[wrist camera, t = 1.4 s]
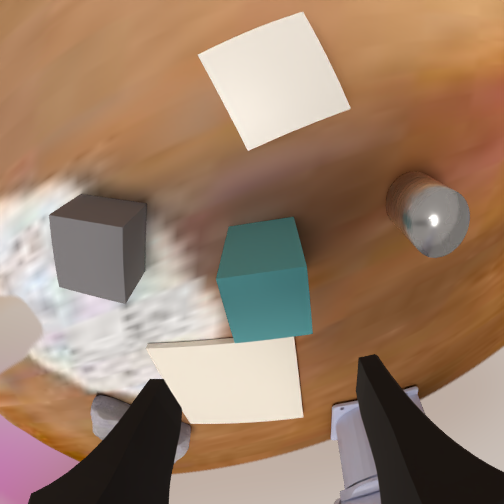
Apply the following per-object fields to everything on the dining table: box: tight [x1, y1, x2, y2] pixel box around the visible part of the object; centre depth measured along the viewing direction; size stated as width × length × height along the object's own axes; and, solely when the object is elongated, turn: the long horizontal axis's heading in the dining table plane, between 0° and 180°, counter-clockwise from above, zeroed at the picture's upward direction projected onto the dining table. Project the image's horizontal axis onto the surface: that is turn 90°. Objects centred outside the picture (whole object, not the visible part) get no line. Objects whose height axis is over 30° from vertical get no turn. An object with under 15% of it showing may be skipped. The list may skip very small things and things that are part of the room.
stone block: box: [91, 395, 191, 463], centre depth 30 cm, size 12×5×10 cm
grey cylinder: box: [386, 171, 470, 258], centre depth 16 cm, size 4×4×4 cm
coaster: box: [146, 337, 303, 424], centre depth 25 cm, size 12×12×1 cm
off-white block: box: [198, 12, 351, 151], centre depth 13 cm, size 5×5×4 cm
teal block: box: [216, 217, 313, 343], centre depth 17 cm, size 4×4×6 cm
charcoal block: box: [49, 194, 147, 304], centre depth 17 cm, size 5×5×4 cm
